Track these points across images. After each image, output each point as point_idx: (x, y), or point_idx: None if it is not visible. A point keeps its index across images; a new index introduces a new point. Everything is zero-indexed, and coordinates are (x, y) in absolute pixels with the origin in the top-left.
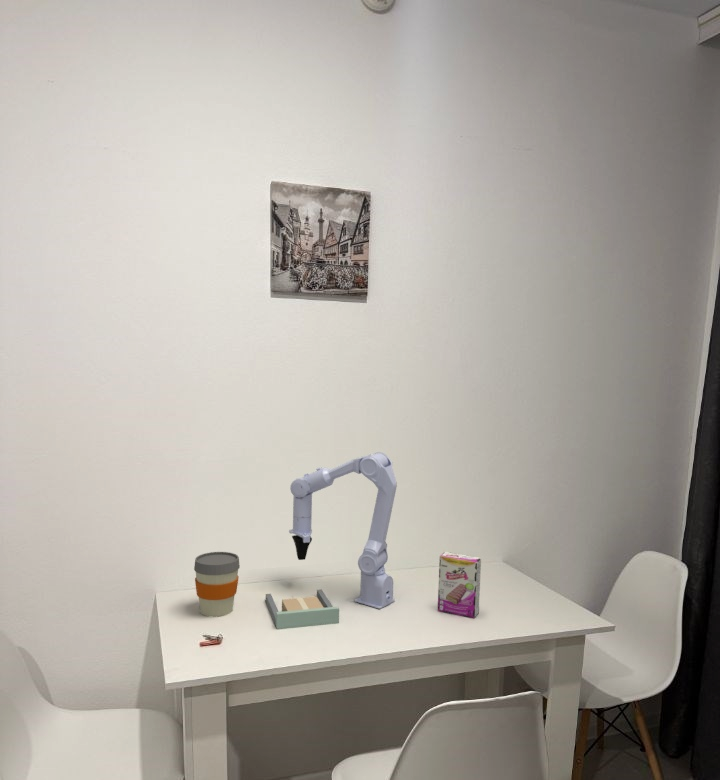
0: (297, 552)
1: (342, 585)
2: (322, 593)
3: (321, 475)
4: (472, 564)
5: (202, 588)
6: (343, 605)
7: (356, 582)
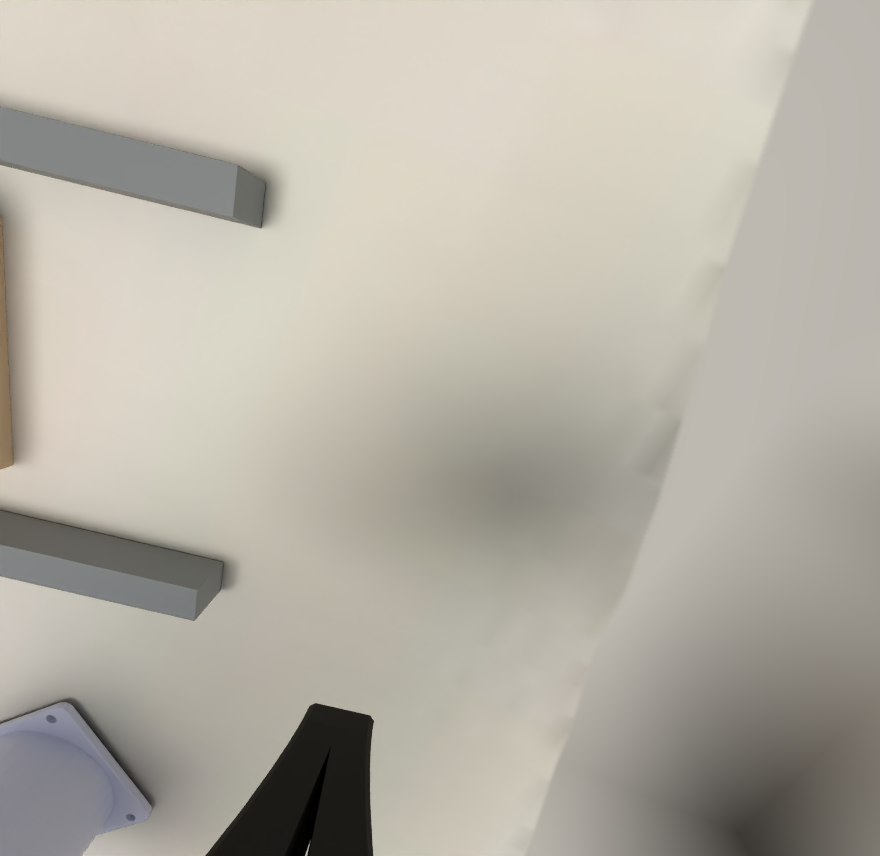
0: (248, 810)
1: None
2: (112, 590)
3: None
4: None
5: None
6: (32, 627)
7: None
